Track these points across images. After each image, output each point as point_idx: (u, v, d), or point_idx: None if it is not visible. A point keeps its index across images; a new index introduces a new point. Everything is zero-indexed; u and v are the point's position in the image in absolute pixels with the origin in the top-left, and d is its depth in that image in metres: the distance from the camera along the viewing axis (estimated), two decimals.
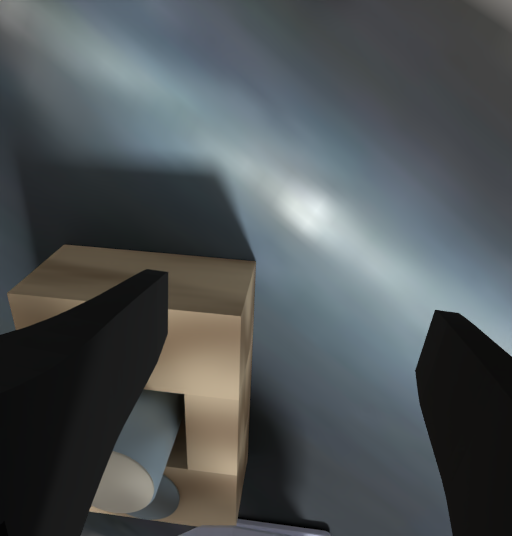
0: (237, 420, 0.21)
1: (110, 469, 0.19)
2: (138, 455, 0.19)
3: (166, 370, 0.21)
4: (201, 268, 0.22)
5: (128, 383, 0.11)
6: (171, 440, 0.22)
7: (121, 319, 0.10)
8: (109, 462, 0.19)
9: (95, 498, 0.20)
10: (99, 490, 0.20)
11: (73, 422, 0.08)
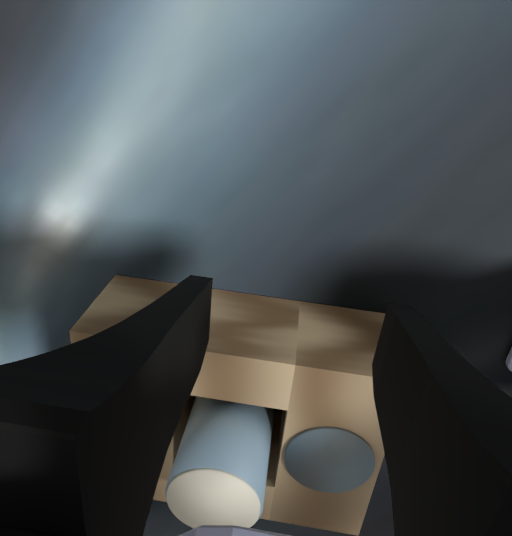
0: None
1: (190, 498, 0.18)
2: (178, 468, 0.18)
3: None
4: None
5: (179, 391, 0.11)
6: (222, 421, 0.20)
7: (177, 327, 0.10)
8: (179, 496, 0.18)
9: (238, 521, 0.19)
10: (224, 514, 0.19)
11: (140, 433, 0.08)
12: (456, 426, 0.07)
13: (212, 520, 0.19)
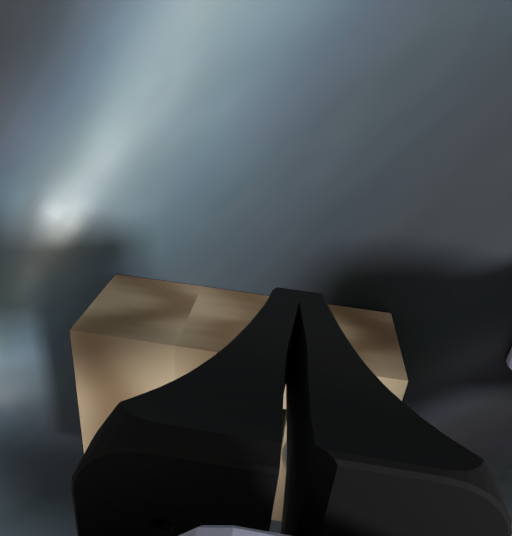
0: (205, 350, 0.19)
1: None
2: None
3: None
4: None
5: None
6: None
7: (288, 344, 0.09)
8: None
9: None
10: None
11: None
12: (307, 402, 0.07)
13: None
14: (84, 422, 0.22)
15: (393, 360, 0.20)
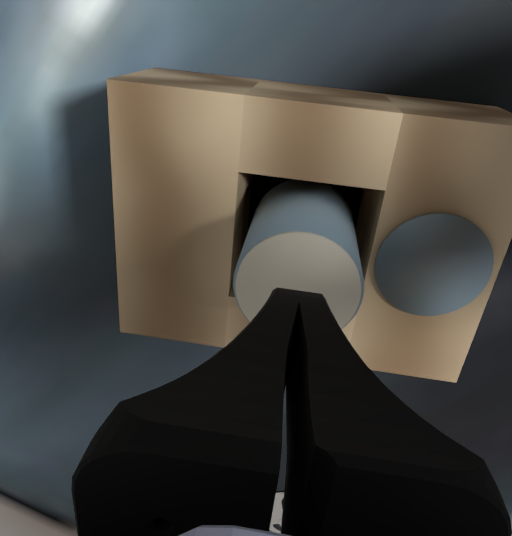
0: (284, 100, 0.15)
1: (267, 282, 0.14)
2: (252, 240, 0.14)
3: (201, 188, 0.16)
4: None
5: None
6: (302, 201, 0.15)
7: (288, 344, 0.09)
8: (254, 280, 0.14)
9: None
10: None
11: None
12: (307, 402, 0.07)
13: None
14: (119, 230, 0.17)
15: None
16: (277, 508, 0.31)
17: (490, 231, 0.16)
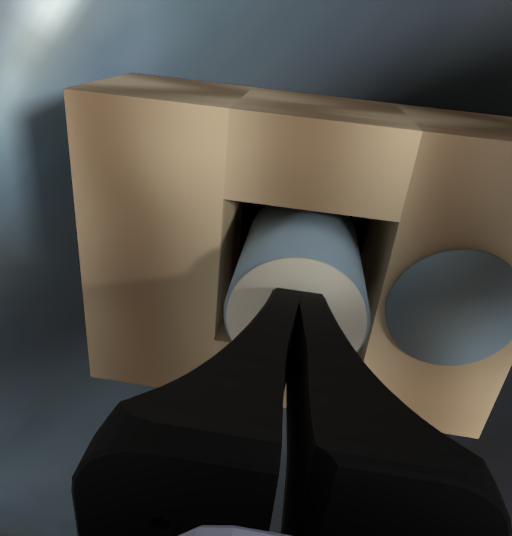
0: (277, 115, 0.12)
1: None
2: (245, 266, 0.12)
3: (180, 218, 0.14)
4: None
5: None
6: (301, 220, 0.14)
7: (288, 344, 0.09)
8: (246, 310, 0.13)
9: None
10: None
11: None
12: (307, 402, 0.07)
13: None
14: (86, 264, 0.15)
15: None
16: None
17: None
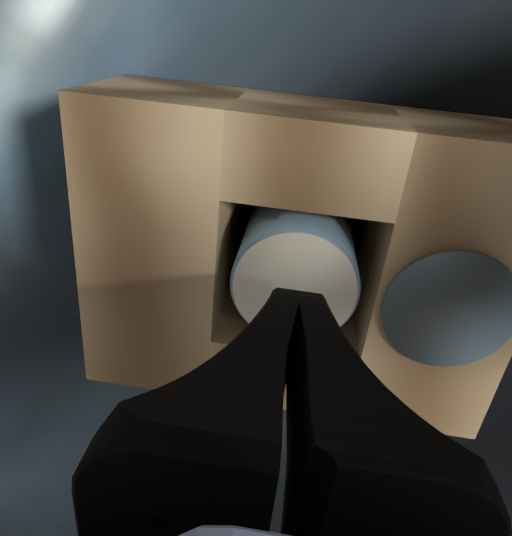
0: (272, 117, 0.12)
1: (264, 282, 0.14)
2: (249, 241, 0.14)
3: (175, 219, 0.14)
4: None
5: None
6: None
7: (288, 344, 0.09)
8: (251, 280, 0.14)
9: None
10: None
11: None
12: (307, 402, 0.07)
13: None
14: (81, 266, 0.15)
15: None
16: None
17: None
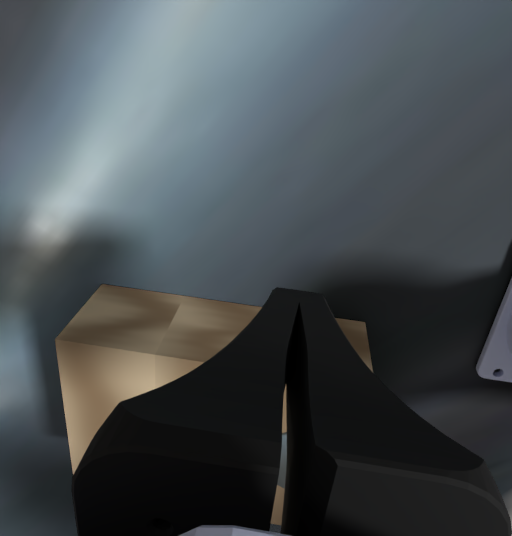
0: (183, 359, 0.20)
1: None
2: None
3: None
4: None
5: None
6: None
7: (288, 344, 0.09)
8: None
9: None
10: None
11: None
12: (307, 402, 0.07)
13: None
14: (70, 426, 0.23)
15: None
16: None
17: None
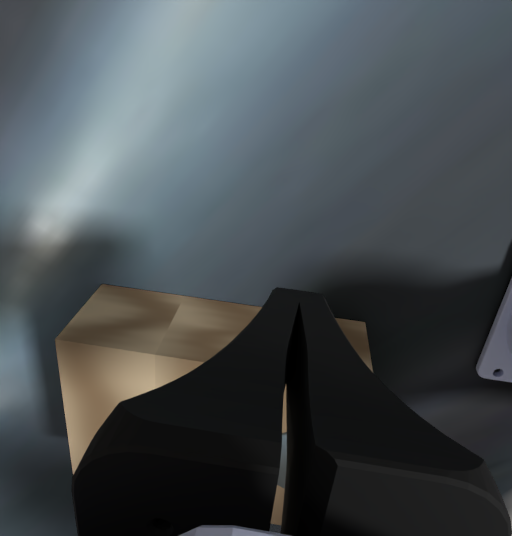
0: (183, 359, 0.20)
1: None
2: None
3: None
4: None
5: None
6: None
7: (288, 344, 0.09)
8: None
9: None
10: None
11: None
12: (307, 402, 0.07)
13: None
14: (70, 426, 0.23)
15: None
16: None
17: None
